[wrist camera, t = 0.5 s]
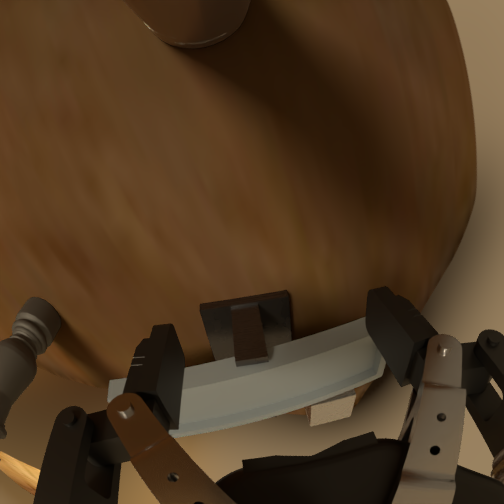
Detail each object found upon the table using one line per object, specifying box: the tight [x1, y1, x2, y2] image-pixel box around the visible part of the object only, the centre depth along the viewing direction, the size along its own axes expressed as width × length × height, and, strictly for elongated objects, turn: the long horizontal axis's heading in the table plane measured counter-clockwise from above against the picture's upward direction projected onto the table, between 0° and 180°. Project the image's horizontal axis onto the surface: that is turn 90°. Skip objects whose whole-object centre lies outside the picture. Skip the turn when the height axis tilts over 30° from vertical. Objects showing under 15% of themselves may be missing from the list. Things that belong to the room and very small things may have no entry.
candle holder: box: [0, 297, 61, 460], centre depth 21 cm, size 6×6×25 cm
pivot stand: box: [200, 290, 292, 417], centre depth 32 cm, size 12×10×9 cm
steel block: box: [305, 389, 356, 426], centre depth 38 cm, size 6×6×8 cm
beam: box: [107, 317, 386, 438], centre depth 28 cm, size 9×30×3 cm, turn 97°
